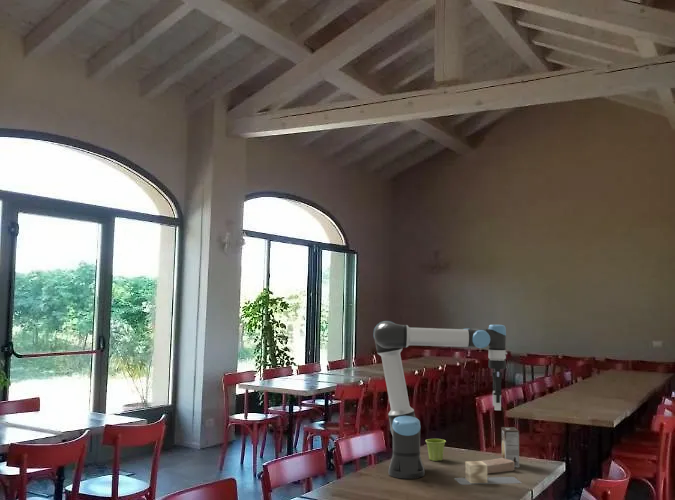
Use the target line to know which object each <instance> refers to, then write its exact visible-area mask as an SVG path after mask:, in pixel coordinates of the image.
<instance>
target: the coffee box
mask: <svg viewBox="0 0 675 500" xmlns="http://www.w3.org/2000/svg"><path fill="white" fill-rule="evenodd" d="M500 429H501V433H500V434H501V436H500V437H501V438H500V439H501V442H500V443H501V458H504V459H508V460H512V461H514V465H515V466H514V468H520V430H519V429H517V428H516V427H515V426H510V427H509V426H501V427H500Z"/></svg>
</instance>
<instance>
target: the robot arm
mask: <svg viewBox="0 0 675 500" xmlns="http://www.w3.org/2000/svg"><path fill="white" fill-rule="evenodd" d="M372 334H373V335H372V336H373V340H374V344H375V348H376V349H375V350H376V353H377V355H379V356H380V357H381V362H382V369H383V373H384V374H383V375H384V380H385V384H386V390H387V397H388V400H389V402H388V403H389V405H390V411H389V412H388V414H387V415H388V420H389V426H390V427H389V430H390V433H391V435H392V455H391V460H390V463H389V466H388V475H389V476H390V477H393V478H398V479H405V480H406V479H407V480H408V479H409V480H410V479H419V478H422V477H424V476H425V466H424V464H423V461H422V457H421V421H420V419H418V417H416V414H415V409H414V408H413V407H411V406H410V401H409V396H408V395H409V394H408V388H407V382H406V379H405V373H404V372H405V371H404V367H403V362H402V357H401V352H402V351H403V348H408V347H409V346H421V347H423V346H425V347H426V346H430V347H453V348H454V347H457V348H459V347H461V348H462V347H463V348H478V349H484V348H487V347H488V354H487V355H488V359H489V360H488V369H493V370H492V372H491V374H492V381H493V382H492V406H494V409H493V410H494V411H502V380H503V379H502V377H503V374H502V373H503V372H501V370H505V369H506V367H507V363H506V362H507V361H506V359H507V355H508V352H507V348H506V347H507V329H506V326H505V325H503V324H489V325H488V328H471V327H470V328H469V327H468V328H435V327H410V326H409V325H408V324H398V323H395V322H393V321H391V320H383V321H380V322H379V323H377V324H376V326H375V327H374V328H373V333H372Z"/></svg>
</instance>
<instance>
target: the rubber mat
mask: <svg viewBox="0 0 675 500" xmlns="http://www.w3.org/2000/svg"><path fill="white" fill-rule="evenodd" d="M453 479H454V480H455V481H456V482H457V483H459V484H460V485H461V486H462V485H463V486H464V485H501V484H502V485H504V484H505V485H506V484H507V485H508V484H523V482H521V481H520V480H519V479H518V478H516V477H515V476H493V477H492V476H491V477H489V476H487V483H470V482H469V481H467V480H466V477H454V478H453Z"/></svg>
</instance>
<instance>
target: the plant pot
mask: <svg viewBox="0 0 675 500" xmlns="http://www.w3.org/2000/svg"><path fill="white" fill-rule="evenodd" d="M425 443H426V445H427V453H428V460H429V461H435V462H438V461H443V458H444V450H445V449H444V448H445V445H446V444H445V443H447V441H446V440H445V439H443V438H442V439H441V438H428V439H425Z"/></svg>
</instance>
